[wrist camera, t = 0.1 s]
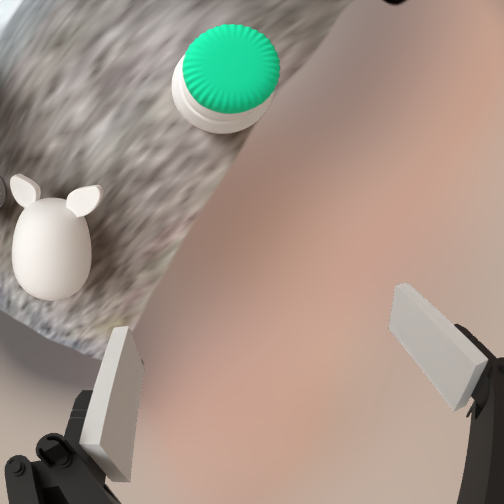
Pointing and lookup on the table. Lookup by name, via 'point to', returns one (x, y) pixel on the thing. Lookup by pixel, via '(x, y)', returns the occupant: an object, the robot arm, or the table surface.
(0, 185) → the off-white domed rod
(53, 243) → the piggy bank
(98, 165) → the table surface
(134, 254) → the table surface
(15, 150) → the table surface
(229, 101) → the water bottle
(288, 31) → the table surface
